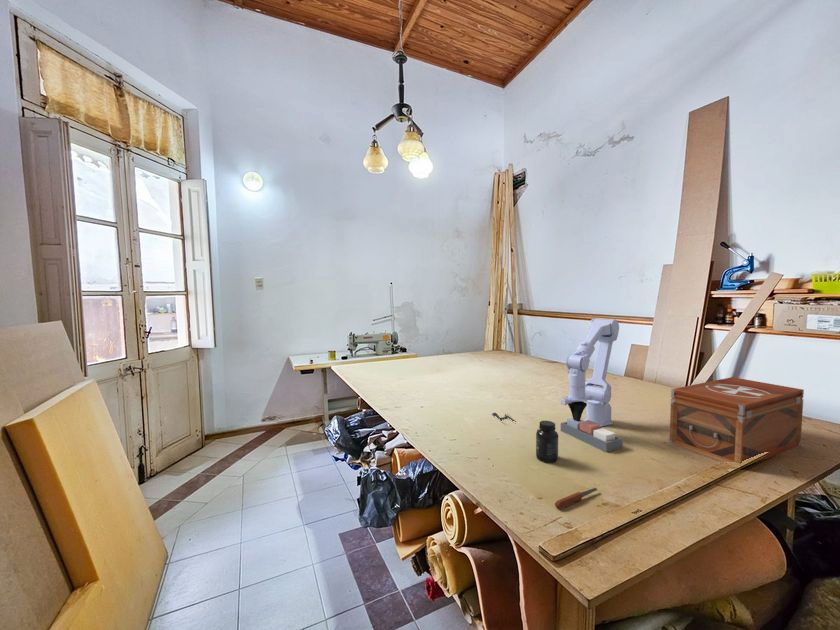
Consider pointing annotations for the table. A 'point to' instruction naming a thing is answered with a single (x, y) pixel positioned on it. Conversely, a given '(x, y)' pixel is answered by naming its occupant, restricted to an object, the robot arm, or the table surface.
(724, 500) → the table surface
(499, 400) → the table surface
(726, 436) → the wooden box
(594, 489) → the chisel
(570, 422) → the light blue square block
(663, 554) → the table surface
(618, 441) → the key housing
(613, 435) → the ivory key
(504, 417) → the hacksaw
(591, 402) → the robot arm
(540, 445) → the supplement bottle
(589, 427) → the brick key
